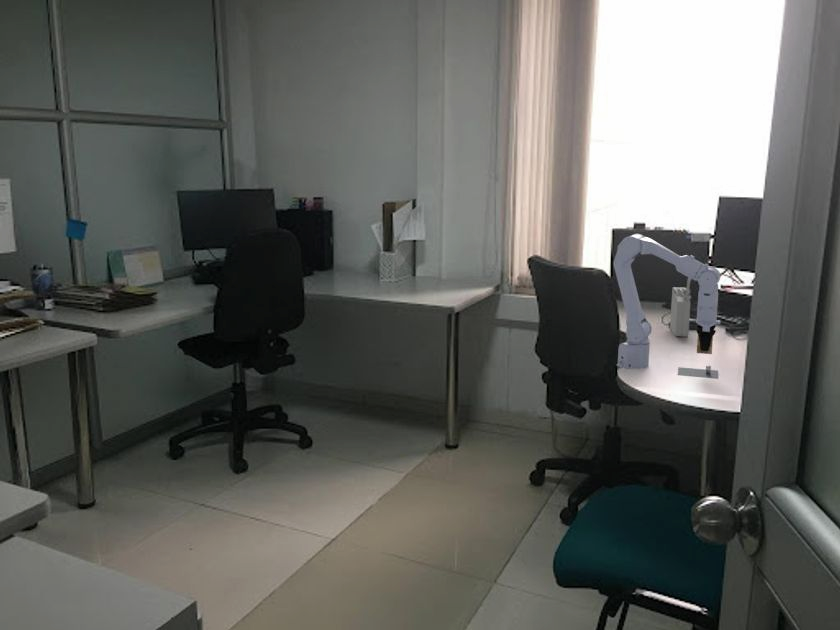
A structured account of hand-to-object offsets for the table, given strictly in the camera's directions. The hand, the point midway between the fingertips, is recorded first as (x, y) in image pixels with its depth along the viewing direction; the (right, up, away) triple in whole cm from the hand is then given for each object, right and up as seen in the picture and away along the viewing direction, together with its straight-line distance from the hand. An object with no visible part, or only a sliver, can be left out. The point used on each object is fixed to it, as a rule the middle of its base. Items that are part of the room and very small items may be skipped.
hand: (704, 348), depth 225 cm
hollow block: (0, -1, 0) cm, 1 cm away
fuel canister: (+12, +3, +55) cm, 57 cm away
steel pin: (+2, -9, +1) cm, 9 cm away
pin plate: (-1, -9, +2) cm, 9 cm away
